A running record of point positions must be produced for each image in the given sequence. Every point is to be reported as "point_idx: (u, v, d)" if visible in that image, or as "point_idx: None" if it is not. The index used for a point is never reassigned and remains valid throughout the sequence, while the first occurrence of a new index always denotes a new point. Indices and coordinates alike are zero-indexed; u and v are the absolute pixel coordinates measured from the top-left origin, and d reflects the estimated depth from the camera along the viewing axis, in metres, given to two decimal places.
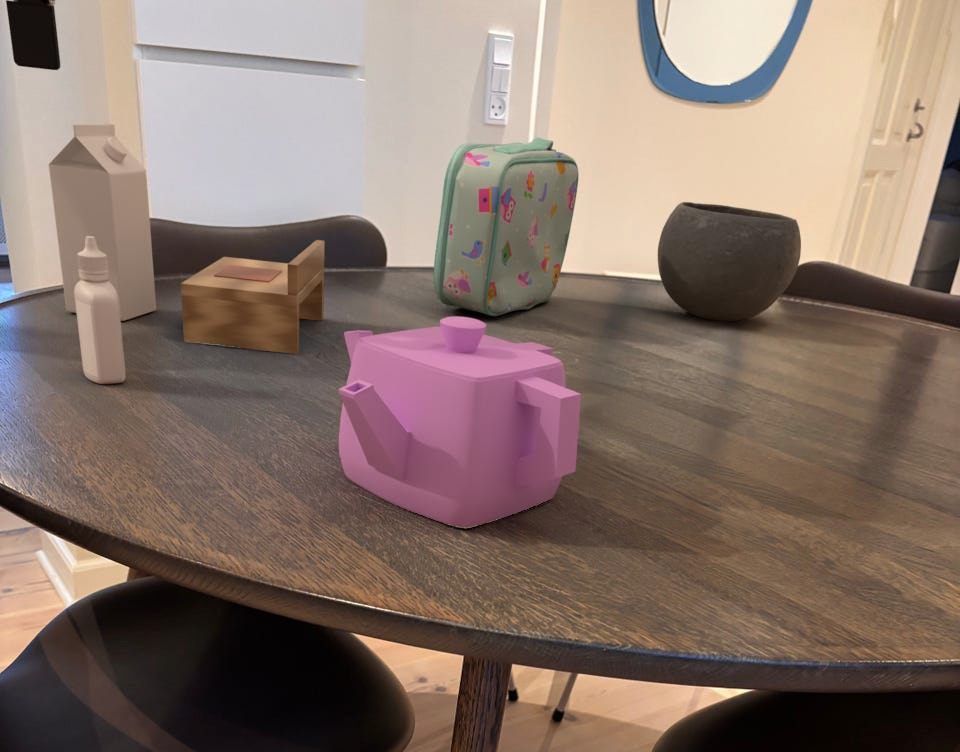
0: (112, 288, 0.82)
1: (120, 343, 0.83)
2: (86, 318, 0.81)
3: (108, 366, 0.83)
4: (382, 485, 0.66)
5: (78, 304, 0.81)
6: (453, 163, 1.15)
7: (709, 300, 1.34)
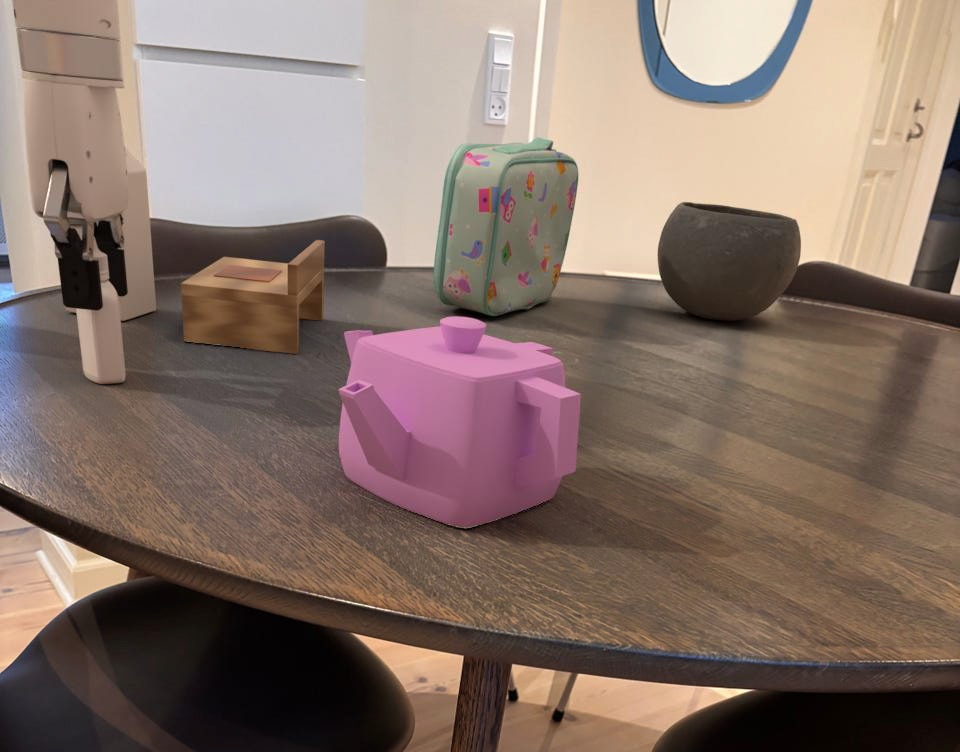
0: (112, 288, 0.82)
1: (120, 343, 0.83)
2: (86, 318, 0.81)
3: (108, 366, 0.83)
4: (382, 485, 0.66)
5: None
6: (453, 163, 1.15)
7: (709, 300, 1.34)
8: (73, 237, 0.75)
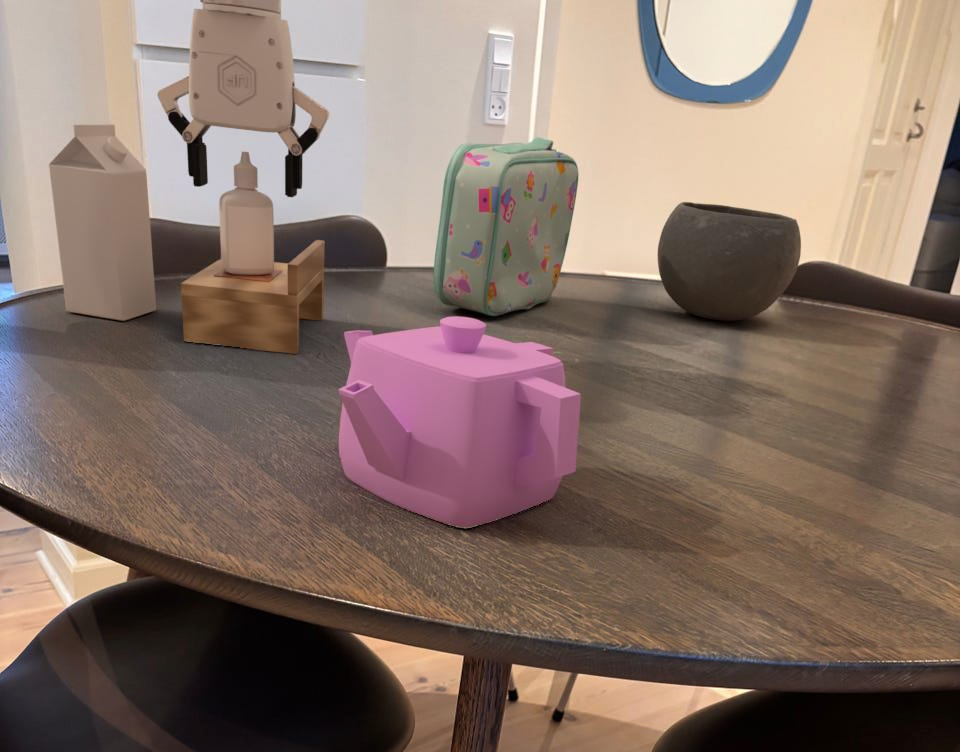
0: None
1: None
2: (267, 220, 1.01)
3: None
4: (382, 485, 0.66)
5: (257, 210, 1.00)
6: (453, 163, 1.15)
7: (709, 300, 1.34)
8: None
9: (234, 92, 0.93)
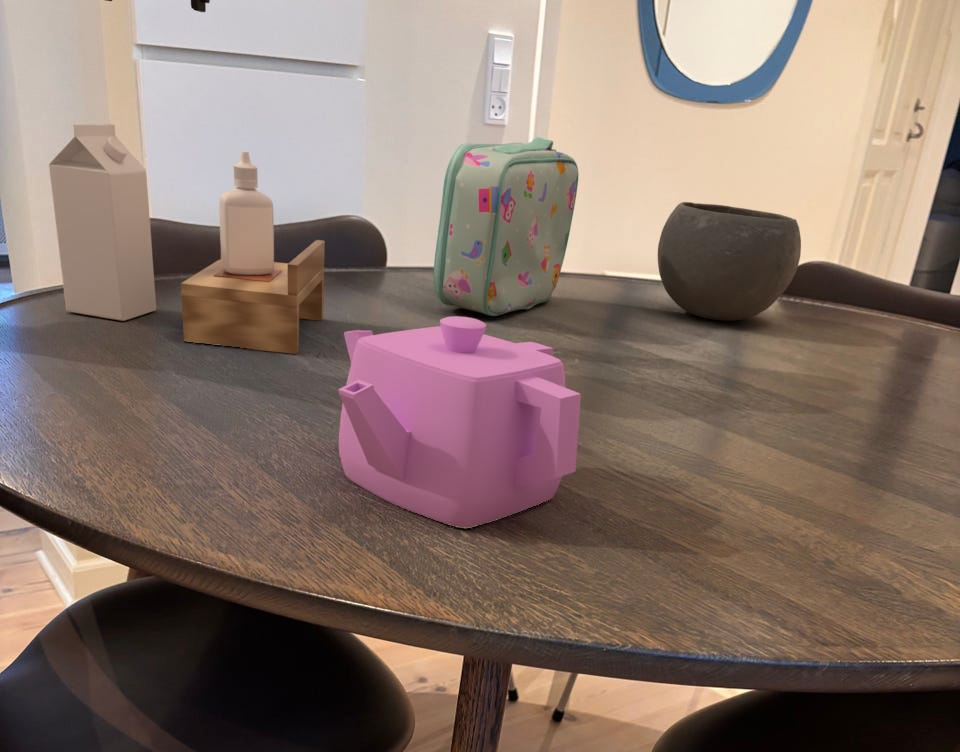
0: None
1: None
2: (267, 220, 1.01)
3: None
4: (382, 485, 0.66)
5: (257, 210, 1.00)
6: (453, 163, 1.15)
7: (709, 300, 1.34)
8: None
9: None
